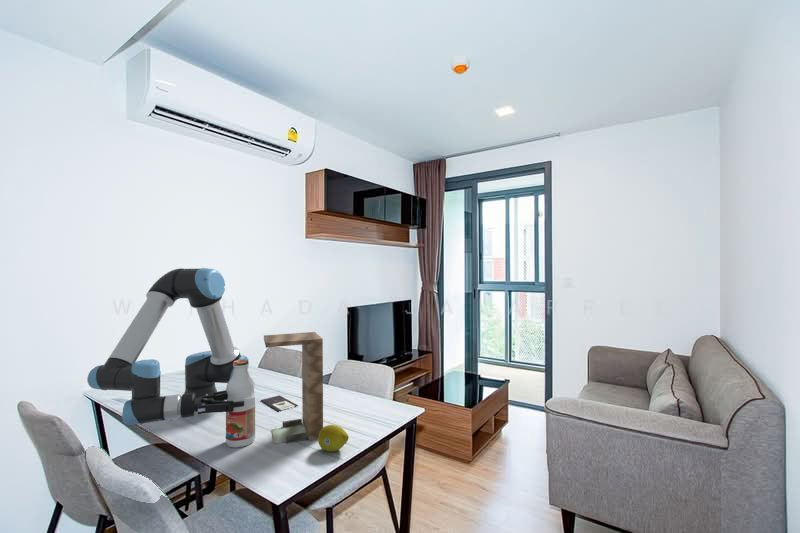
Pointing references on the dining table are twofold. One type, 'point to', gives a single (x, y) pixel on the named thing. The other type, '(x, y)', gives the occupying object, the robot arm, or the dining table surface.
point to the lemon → (332, 438)
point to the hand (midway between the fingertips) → (254, 396)
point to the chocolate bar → (279, 403)
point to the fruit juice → (243, 418)
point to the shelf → (303, 387)
